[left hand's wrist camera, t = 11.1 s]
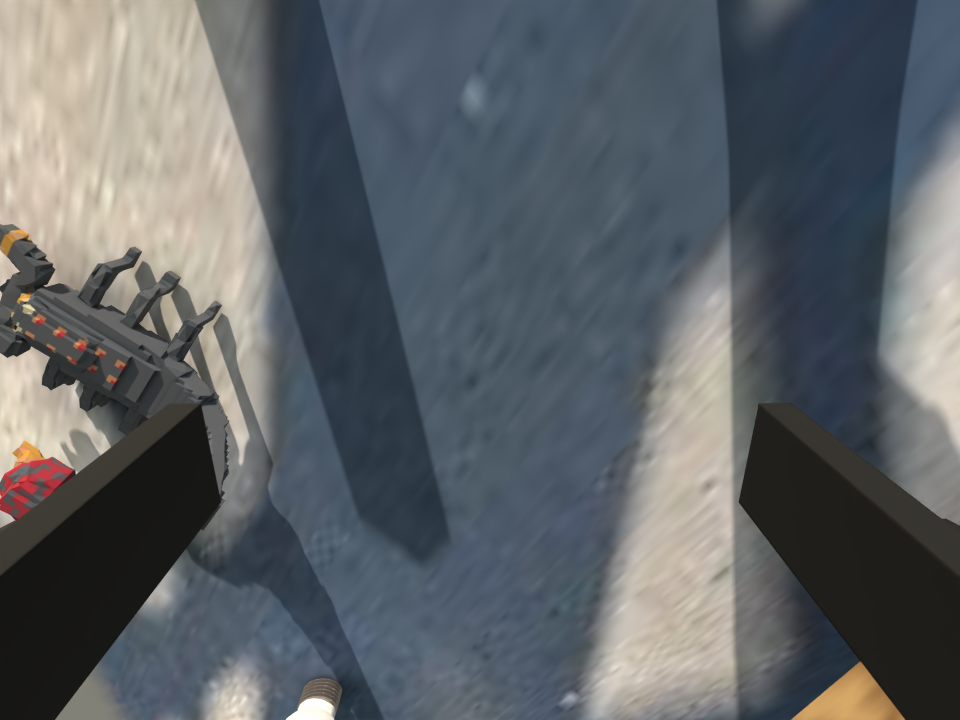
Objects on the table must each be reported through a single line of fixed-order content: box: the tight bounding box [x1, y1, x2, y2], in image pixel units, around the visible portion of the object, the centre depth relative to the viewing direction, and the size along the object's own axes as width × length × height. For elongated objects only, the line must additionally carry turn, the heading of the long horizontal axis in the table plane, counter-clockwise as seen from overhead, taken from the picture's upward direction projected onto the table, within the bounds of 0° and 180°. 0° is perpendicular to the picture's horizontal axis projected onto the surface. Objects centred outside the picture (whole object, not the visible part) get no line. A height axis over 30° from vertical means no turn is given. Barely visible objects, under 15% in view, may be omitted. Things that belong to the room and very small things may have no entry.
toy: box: [0, 224, 229, 530], centre depth 33 cm, size 13×27×18 cm, turn 52°
